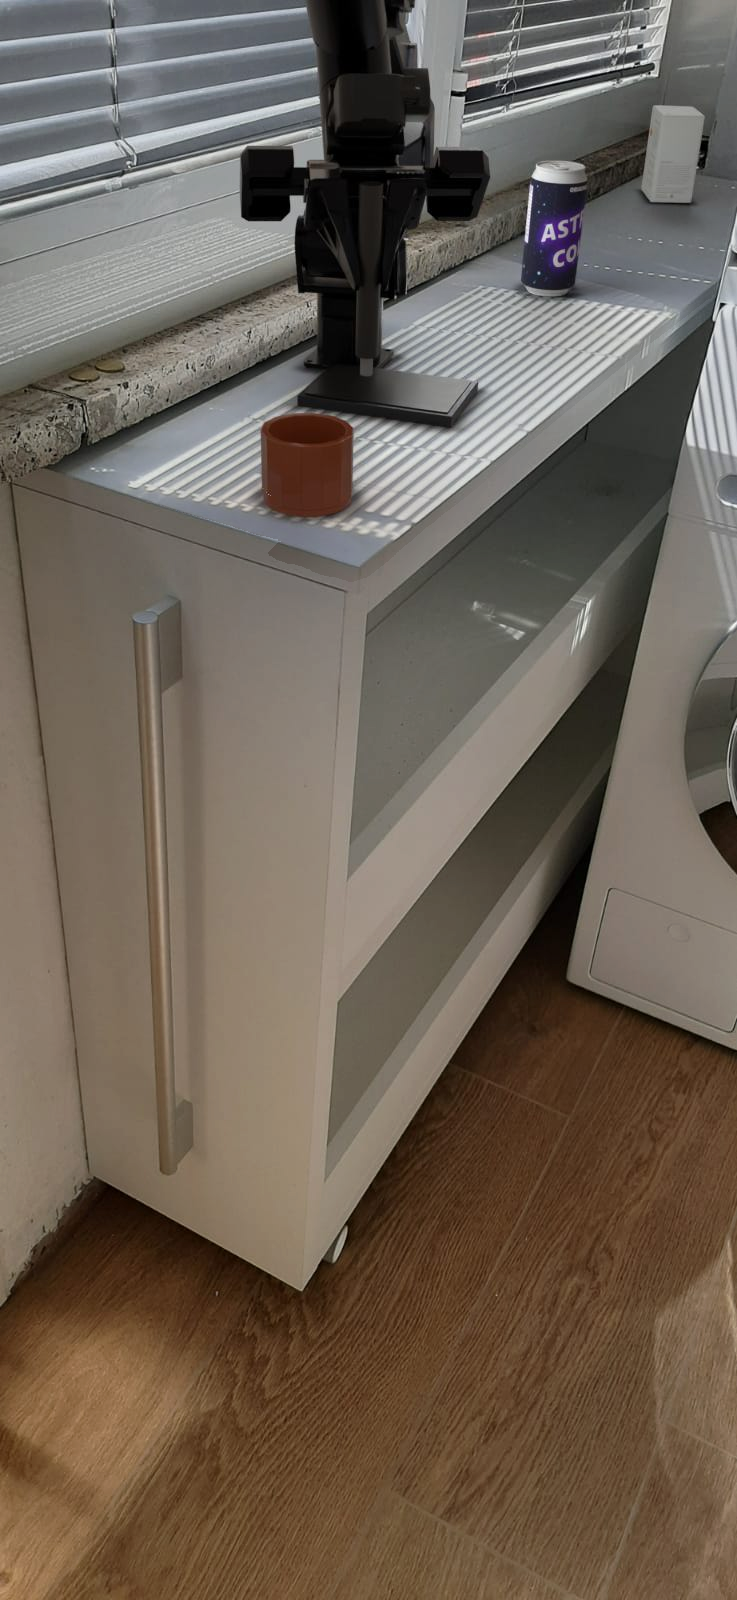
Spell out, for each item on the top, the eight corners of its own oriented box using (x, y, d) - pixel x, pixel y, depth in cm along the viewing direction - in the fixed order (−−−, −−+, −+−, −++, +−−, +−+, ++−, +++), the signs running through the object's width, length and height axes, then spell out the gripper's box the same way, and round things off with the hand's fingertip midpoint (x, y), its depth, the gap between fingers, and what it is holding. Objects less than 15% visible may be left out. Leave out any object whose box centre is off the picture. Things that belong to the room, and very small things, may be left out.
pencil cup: (280, 475, 91) (279, 407, 88) (363, 488, 90) (365, 420, 87) (248, 509, 87) (246, 438, 84) (336, 523, 85) (336, 451, 82)
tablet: (332, 372, 110) (333, 360, 109) (477, 391, 107) (478, 380, 106) (297, 405, 103) (297, 393, 102) (451, 427, 100) (451, 415, 99)
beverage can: (531, 300, 129) (544, 171, 122) (512, 284, 134) (523, 160, 126) (582, 297, 131) (598, 170, 123) (561, 282, 135) (575, 159, 128)
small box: (691, 204, 168) (706, 115, 161) (649, 203, 168) (662, 114, 161) (680, 191, 174) (694, 105, 168) (640, 190, 174) (652, 104, 168)
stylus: (356, 370, 101) (360, 180, 93) (378, 371, 101) (384, 181, 93) (353, 377, 100) (357, 185, 91) (376, 378, 100) (382, 186, 91)
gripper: (235, 18, 88) (249, 226, 86) (496, 23, 90) (515, 225, 88) (235, 123, 99) (246, 310, 97) (467, 125, 101) (483, 307, 99)
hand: (370, 287), depth 95 cm, fingers closed on stylus, 2 cm apart
